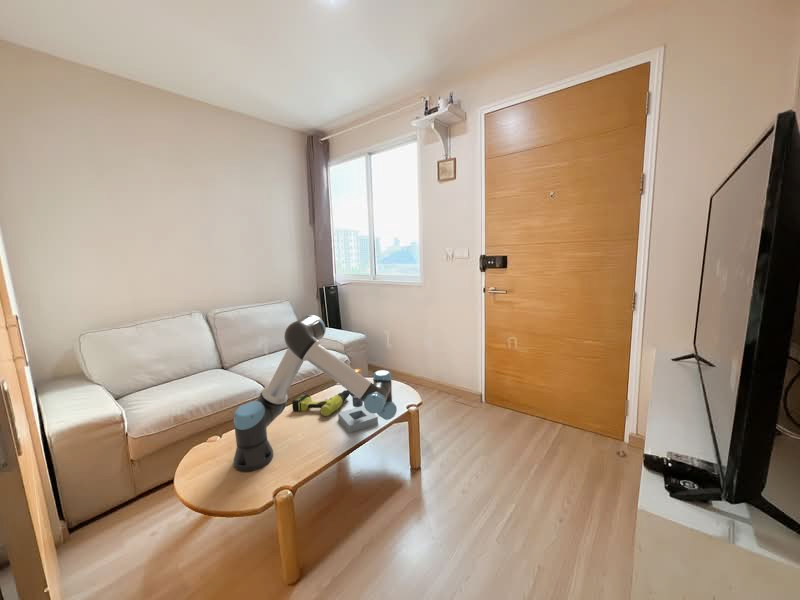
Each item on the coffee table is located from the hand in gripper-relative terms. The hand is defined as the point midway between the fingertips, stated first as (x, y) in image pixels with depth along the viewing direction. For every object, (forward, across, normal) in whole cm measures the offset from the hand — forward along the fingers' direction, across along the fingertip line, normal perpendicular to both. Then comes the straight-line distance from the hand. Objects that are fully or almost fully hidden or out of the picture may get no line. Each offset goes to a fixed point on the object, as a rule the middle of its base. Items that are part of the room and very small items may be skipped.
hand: (352, 381), depth 167 cm
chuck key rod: (-5, 0, -10) cm, 12 cm away
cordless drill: (+22, -9, -20) cm, 31 cm away
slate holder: (-5, 0, -20) cm, 20 cm away
